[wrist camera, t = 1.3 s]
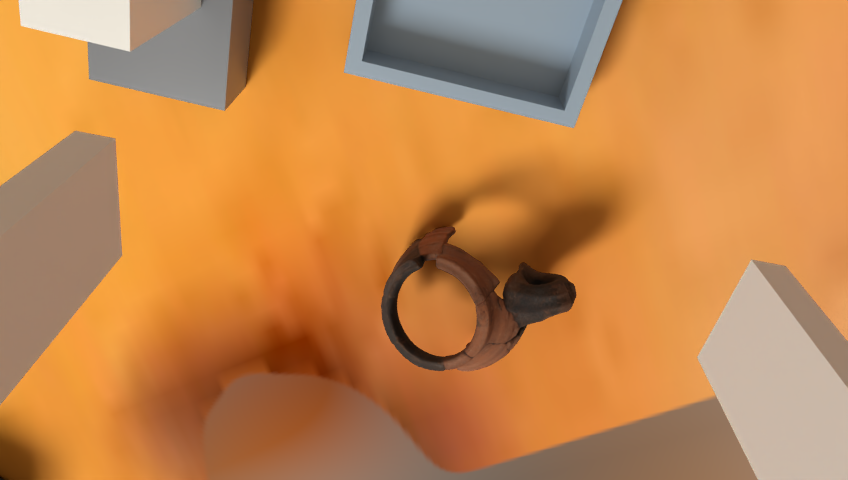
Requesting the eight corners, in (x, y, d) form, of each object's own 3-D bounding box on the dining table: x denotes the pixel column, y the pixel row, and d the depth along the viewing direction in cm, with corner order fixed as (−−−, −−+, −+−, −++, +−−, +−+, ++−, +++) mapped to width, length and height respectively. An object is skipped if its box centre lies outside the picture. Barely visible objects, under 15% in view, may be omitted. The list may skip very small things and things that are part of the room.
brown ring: (447, 354, 48) (393, 397, 41) (410, 232, 47) (349, 255, 40) (605, 327, 42) (575, 373, 35) (565, 189, 42) (526, 207, 34)
